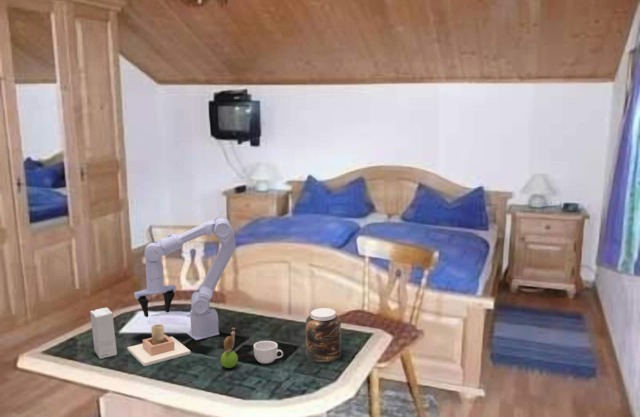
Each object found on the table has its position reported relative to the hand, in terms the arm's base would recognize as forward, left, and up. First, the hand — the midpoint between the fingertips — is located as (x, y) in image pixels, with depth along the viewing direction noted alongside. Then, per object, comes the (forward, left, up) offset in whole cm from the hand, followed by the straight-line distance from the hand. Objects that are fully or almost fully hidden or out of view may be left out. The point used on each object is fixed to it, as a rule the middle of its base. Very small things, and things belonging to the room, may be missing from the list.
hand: (156, 313), depth 206 cm
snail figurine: (-10, +36, -10) cm, 39 cm away
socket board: (+4, +11, -9) cm, 15 cm away
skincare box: (+19, +1, -10) cm, 21 cm away
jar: (-39, +47, -10) cm, 62 cm away
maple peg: (+4, +11, -8) cm, 14 cm away
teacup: (-22, +40, -10) cm, 47 cm away
